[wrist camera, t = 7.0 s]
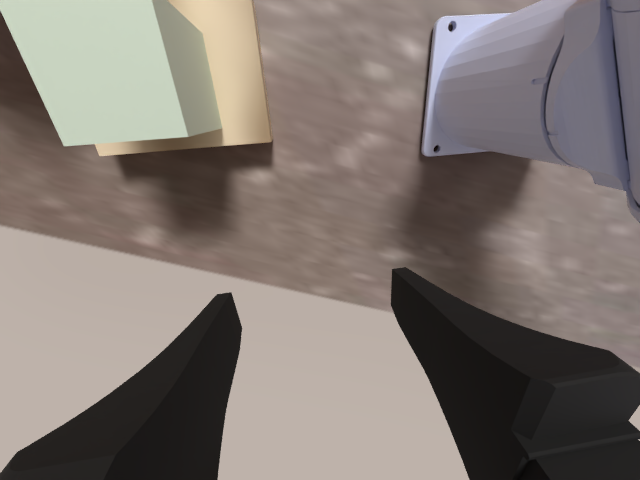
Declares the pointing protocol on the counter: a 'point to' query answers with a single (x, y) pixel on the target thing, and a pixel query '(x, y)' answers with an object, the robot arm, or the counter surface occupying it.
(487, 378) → the robot arm
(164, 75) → the sage block
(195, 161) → the counter surface
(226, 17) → the oak slab
